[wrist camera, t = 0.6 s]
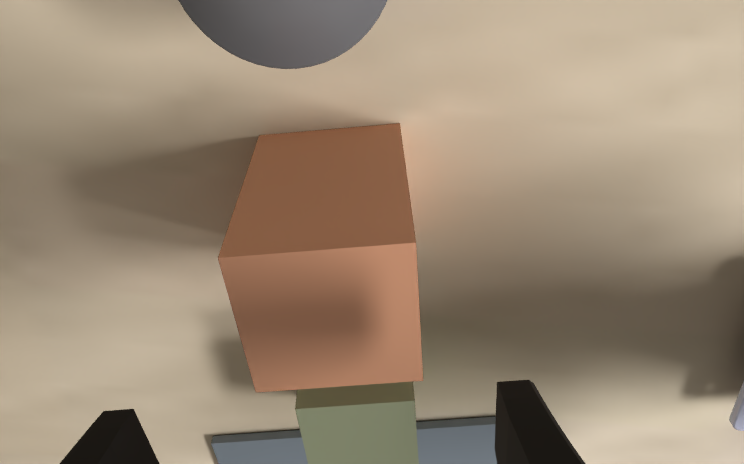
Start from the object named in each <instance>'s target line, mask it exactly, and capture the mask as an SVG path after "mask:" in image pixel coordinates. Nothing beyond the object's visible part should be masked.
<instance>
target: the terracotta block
mask: <svg viewBox="0 0 744 464" xmlns="http://www.w3.org/2000/svg"><path fill="white" fill-rule="evenodd" d="M218 260H219V264H220V267H221V271H222V275H223V278H224V282H225V285H226V289H227V292H228V296H229V299H230V303H231V306H232V310H233V313H234V317H235V320H236V324H237V327H238V331H239V334H240V338H241V341H242V345H243V349H244V352H245V356H246V359H247V363H248V366H249V370H250V373H251V377H252V380H253V384H254V387H255V391H256V392H269V391H283V390H298V389H312V388H326V387H340V386H355V385H369V384H383V383H397V382H412V381H423V368H422V349H421V330H420V310H419V291H418V272H417V253H416V239H415V232H414V224H413V217H412V210H411V202H410V195H409V188H408V180H407V173H406V166H405V158H404V151H403V144H402V136H401V129H400V123H398V124H386V125H374V126H362V127H351V128H339V129H327V130H315V131H304V132H292V133H280V134H268V135H259V138H258V141H257V144H256V146H255V149H254V152H253V155H252V158H251V161H250V164H249V167H248V170H247V173H246V176H245V179H244V182H243V185H242V188H241V191H240V194H239V197H238V200H237V203H236V206H235V209H234V212H233V215H232V218H231V221H230V223H229V226H228V229H227V232H226V235H225V238H224V241H223V244H222V247H221V250H220V253H219V256H218Z"/></svg>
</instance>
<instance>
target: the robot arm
mask: <svg viewBox="0 0 744 464" xmlns="http://www.w3.org/2000/svg"><path fill="white" fill-rule="evenodd" d="M729 421H730V422H731V424H732V425H733V427H734V428H735V429H736V430H740V431H744V381H743V384H742V387H741V389H740V392H739V394H738V397H737V400H736V402H735V405H734V407H733V410H732V413H731V415H730V419H729ZM495 454H496V460H497V464H585V463H584V461H583V460H582V458H581V457H580V456H579V454H578V453H577V451H576V450H575V449H574V447H573V446H572V444H571V443H570V441H569V440H568V438H567V437H566V435H565V434H564V432H563V431H562V429H561V428H560V426H559V425H558V423H557V422H556V420H555V418H554V417H553V415H552V414H551V412H550V410H549V409H548V407H547V406H546V404H545V402H544V401H543V399H542V397H541V395H540V394H539V392H538V390H537V388H536V386H535V385H534V383H532V382H531V381H530V380H519V381H506V382H497V399H496V423H495ZM60 464H159V462H158V460H157V458H156V456H155V454H154V451H153V449H152V447H151V445H150V443H149V441H148V439H147V437H146V435H145V432H144V430H143V428H142V426H141V424H140V422H139V420H138V418H137V416H136V413H135V411H134V409H127V410H114V411H103V413H102V414H101V415H100V416H99V417H98V418H97V420H96V421H95V422H94V423H93V424H92V425H91V427H90V428H89V429H88V430H87V431H86V433H85V434H84V435H83V436H82V437H81V439H80V440H79V441H78V442H77V443H76V445H75V446H74V447H73V448H72V449H71V451H70V452H69V453H68V454H67V455H66V457H65V458H64V459H63V460H62V461H61V463H60Z"/></svg>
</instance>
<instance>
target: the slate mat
mask: <svg viewBox="0 0 744 464" xmlns="http://www.w3.org/2000/svg"><path fill="white" fill-rule="evenodd" d="M495 423H496V417H482V418H467V419H453V420H438V421H424V422H416V429H417V444H418V459H419V464H497V460H496V454H495ZM211 445H212V447H213V450H214V453H215V455H216V458H217V461H218V463H219V464H308V461H307V457H306V453H305V449H304V444H303V440H302V436H301V432H300V430H293V431H279V432H264V433H250V434H235V435H221V436H213V438H212V442H211Z"/></svg>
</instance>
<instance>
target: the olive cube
mask: <svg viewBox="0 0 744 464" xmlns="http://www.w3.org/2000/svg"><path fill="white" fill-rule="evenodd" d="M295 410H296V415H297V419H298V423H299V427H300V432H301V436H302V440H303V444H304V449H305V453H306V457H307V461H308V464H419V459H418V444H417V429H416V414H415V399H414V389H413V381H412V382H397V383H383V384H369V385H355V386H340V387H326V388H312V389H298V390H297V398H296V407H295Z"/></svg>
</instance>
